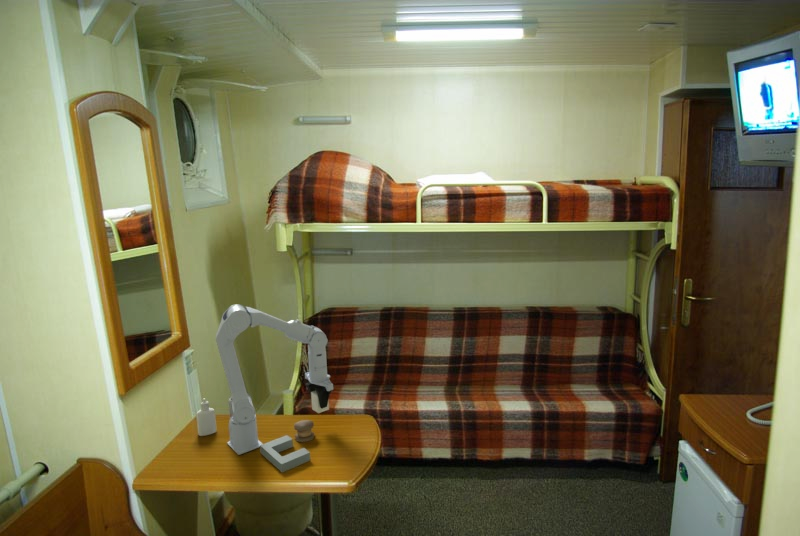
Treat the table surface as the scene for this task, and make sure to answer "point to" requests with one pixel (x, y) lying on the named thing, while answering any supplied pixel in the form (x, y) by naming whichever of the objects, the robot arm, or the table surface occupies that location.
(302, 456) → the notched board
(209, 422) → the eye dropper bottle
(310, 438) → the brown knob
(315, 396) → the block
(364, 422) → the table surface
